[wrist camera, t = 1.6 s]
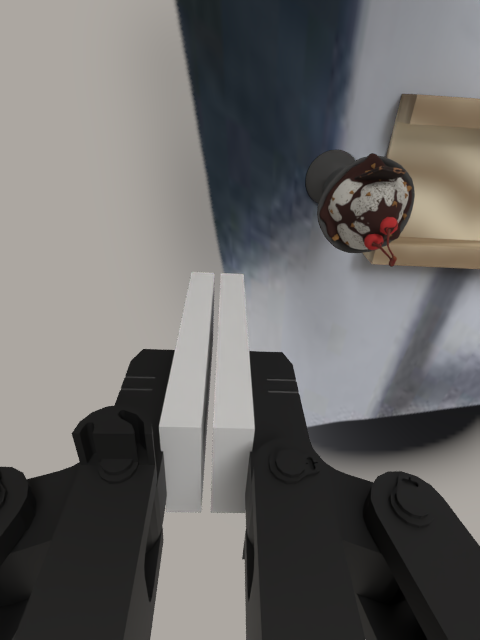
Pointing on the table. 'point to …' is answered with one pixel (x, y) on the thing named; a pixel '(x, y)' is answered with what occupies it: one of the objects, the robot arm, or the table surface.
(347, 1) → the table surface
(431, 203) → the rest
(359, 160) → the sundae
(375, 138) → the table surface
